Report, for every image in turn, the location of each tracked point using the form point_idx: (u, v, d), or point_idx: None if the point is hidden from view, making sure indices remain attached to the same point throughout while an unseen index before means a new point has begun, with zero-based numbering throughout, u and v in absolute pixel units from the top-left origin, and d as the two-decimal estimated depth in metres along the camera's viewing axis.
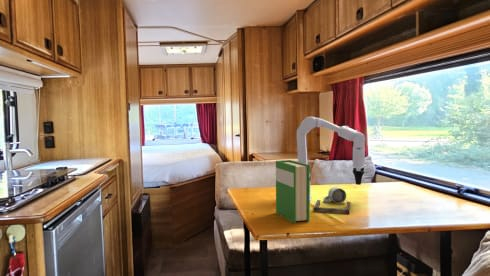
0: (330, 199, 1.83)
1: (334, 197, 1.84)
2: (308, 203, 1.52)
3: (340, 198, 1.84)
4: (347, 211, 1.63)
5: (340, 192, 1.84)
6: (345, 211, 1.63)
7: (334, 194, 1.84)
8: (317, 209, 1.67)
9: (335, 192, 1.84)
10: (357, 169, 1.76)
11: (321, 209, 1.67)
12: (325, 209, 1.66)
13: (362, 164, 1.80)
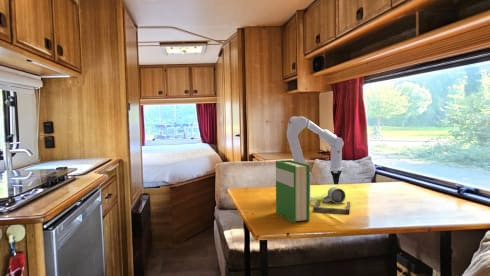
0: (330, 199, 1.83)
1: (333, 197, 1.84)
2: (308, 203, 1.52)
3: (339, 198, 1.84)
4: (347, 211, 1.63)
5: (339, 192, 1.84)
6: (345, 211, 1.63)
7: (333, 194, 1.84)
8: (317, 209, 1.67)
9: (334, 192, 1.84)
10: (334, 171, 1.90)
11: (321, 209, 1.67)
12: (325, 209, 1.66)
13: (339, 166, 1.94)
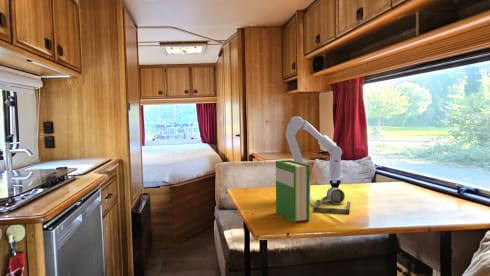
0: (329, 200, 1.82)
1: (332, 197, 1.83)
2: (308, 203, 1.52)
3: (338, 198, 1.83)
4: (347, 211, 1.63)
5: (338, 192, 1.83)
6: (345, 211, 1.63)
7: (332, 194, 1.83)
8: (317, 209, 1.67)
9: (333, 192, 1.83)
10: (333, 181, 1.84)
11: (321, 209, 1.67)
12: (325, 209, 1.66)
13: (338, 176, 1.88)
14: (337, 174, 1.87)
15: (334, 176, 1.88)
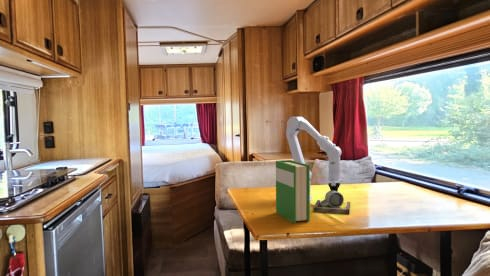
0: (327, 203, 1.75)
1: (331, 201, 1.76)
2: (308, 203, 1.52)
3: (337, 202, 1.75)
4: (347, 211, 1.63)
5: (337, 196, 1.75)
6: (345, 211, 1.63)
7: (331, 198, 1.75)
8: (317, 209, 1.67)
9: (332, 196, 1.75)
10: (332, 184, 1.76)
11: (321, 209, 1.67)
12: (325, 209, 1.66)
13: (337, 179, 1.80)
14: (336, 176, 1.80)
15: (333, 179, 1.80)
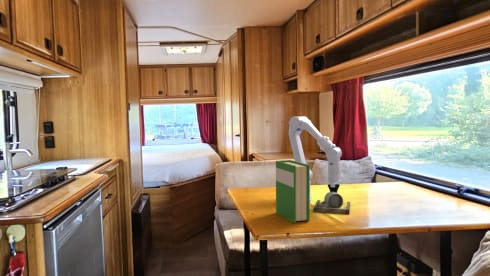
0: (326, 205, 1.72)
1: (330, 202, 1.73)
2: (308, 203, 1.52)
3: (337, 204, 1.72)
4: (347, 211, 1.63)
5: (337, 197, 1.72)
6: (345, 211, 1.63)
7: (330, 199, 1.72)
8: (317, 209, 1.67)
9: (331, 197, 1.72)
10: (331, 185, 1.73)
11: (321, 209, 1.67)
12: (325, 209, 1.66)
13: (337, 180, 1.77)
14: (336, 178, 1.77)
15: (332, 180, 1.77)
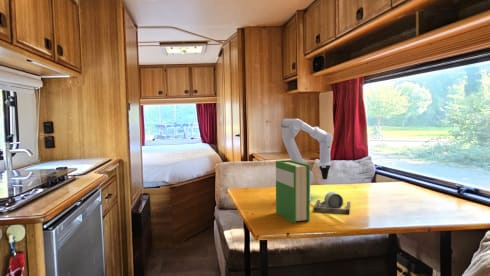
0: (326, 205, 1.71)
1: (330, 203, 1.72)
2: (308, 203, 1.52)
3: (337, 204, 1.72)
4: (347, 211, 1.63)
5: (337, 197, 1.72)
6: (345, 211, 1.63)
7: (330, 200, 1.72)
8: (317, 209, 1.67)
9: (331, 197, 1.72)
10: (322, 166, 1.93)
11: (321, 209, 1.67)
12: (325, 209, 1.66)
13: (328, 161, 1.97)
14: (326, 159, 1.96)
15: (324, 161, 1.97)
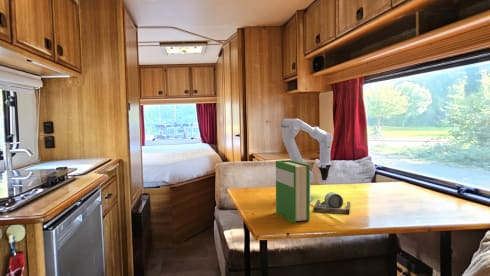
0: (326, 205, 1.71)
1: (330, 203, 1.72)
2: (308, 203, 1.52)
3: (337, 204, 1.72)
4: (347, 211, 1.63)
5: (337, 198, 1.72)
6: (345, 211, 1.63)
7: (330, 200, 1.72)
8: (317, 209, 1.67)
9: (331, 198, 1.72)
10: (322, 166, 1.93)
11: (321, 209, 1.67)
12: (325, 209, 1.66)
13: (328, 161, 1.97)
14: (326, 159, 1.96)
15: (324, 161, 1.97)
